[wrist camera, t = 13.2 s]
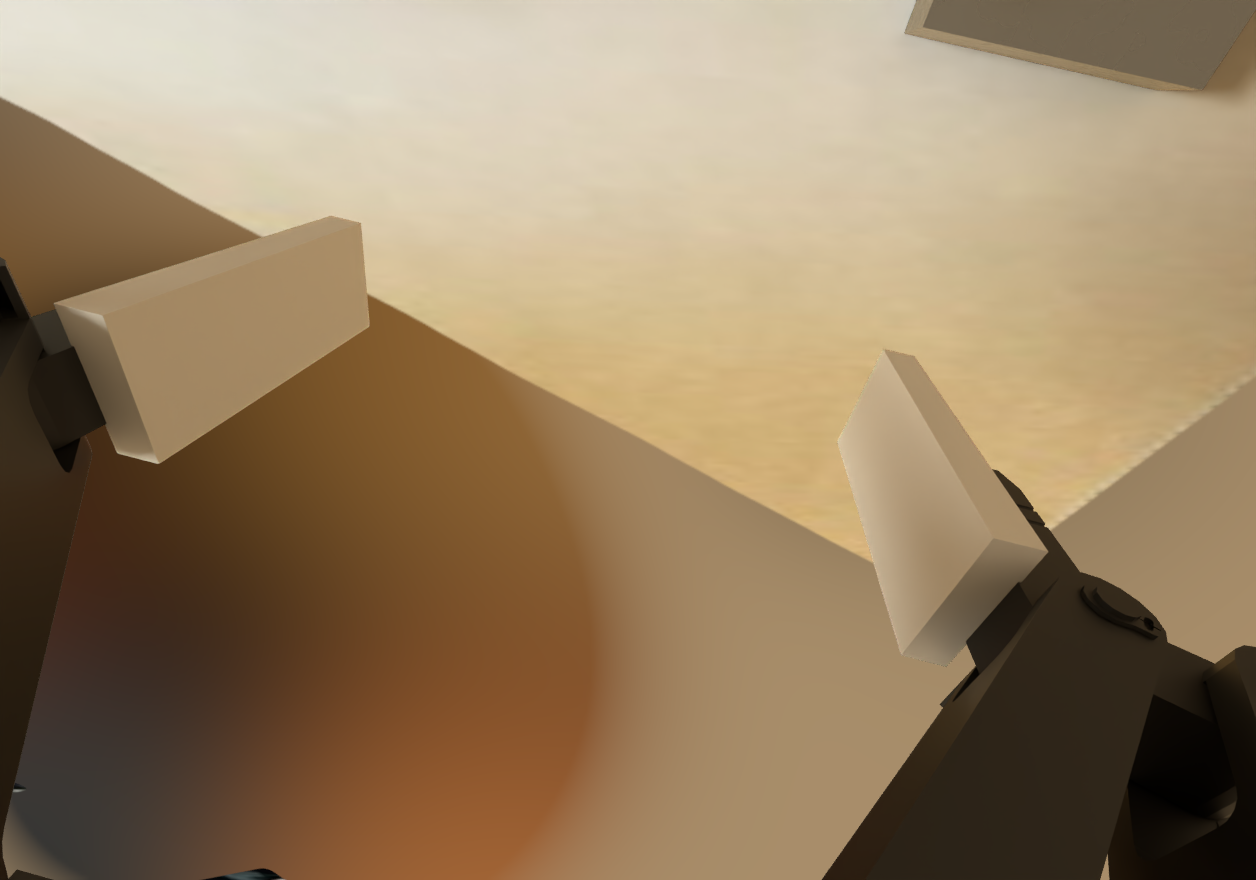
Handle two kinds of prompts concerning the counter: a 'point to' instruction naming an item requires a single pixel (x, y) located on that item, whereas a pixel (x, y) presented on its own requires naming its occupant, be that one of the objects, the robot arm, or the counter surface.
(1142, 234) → the counter surface
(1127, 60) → the block
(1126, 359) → the counter surface
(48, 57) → the counter surface
